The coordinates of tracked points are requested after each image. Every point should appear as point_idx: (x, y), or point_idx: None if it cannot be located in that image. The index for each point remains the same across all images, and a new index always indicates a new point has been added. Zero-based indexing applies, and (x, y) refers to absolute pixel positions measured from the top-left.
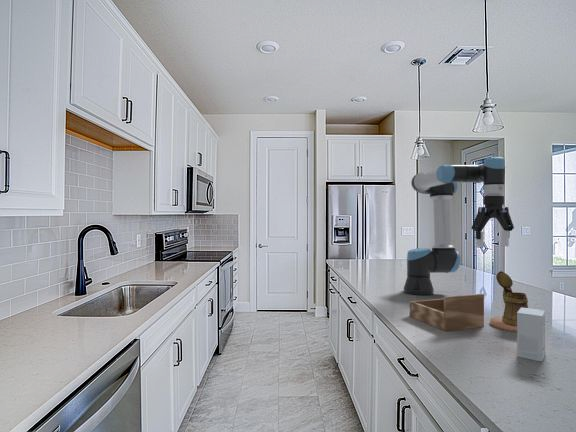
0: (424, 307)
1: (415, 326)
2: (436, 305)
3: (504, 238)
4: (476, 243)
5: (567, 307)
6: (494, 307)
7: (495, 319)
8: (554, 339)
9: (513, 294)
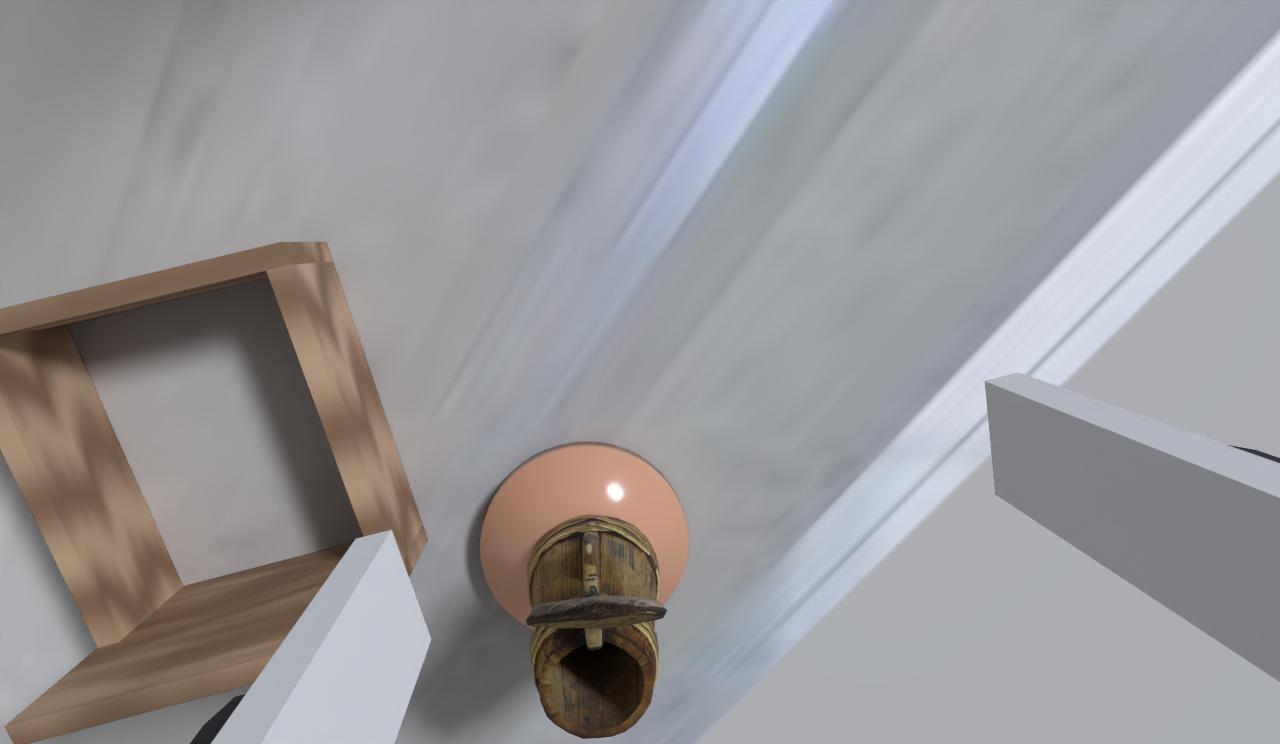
0: (23, 483)
1: (17, 522)
2: (220, 284)
3: (1110, 497)
4: (328, 578)
5: (1232, 192)
6: (766, 141)
7: (526, 501)
8: (643, 720)
9: (550, 718)
